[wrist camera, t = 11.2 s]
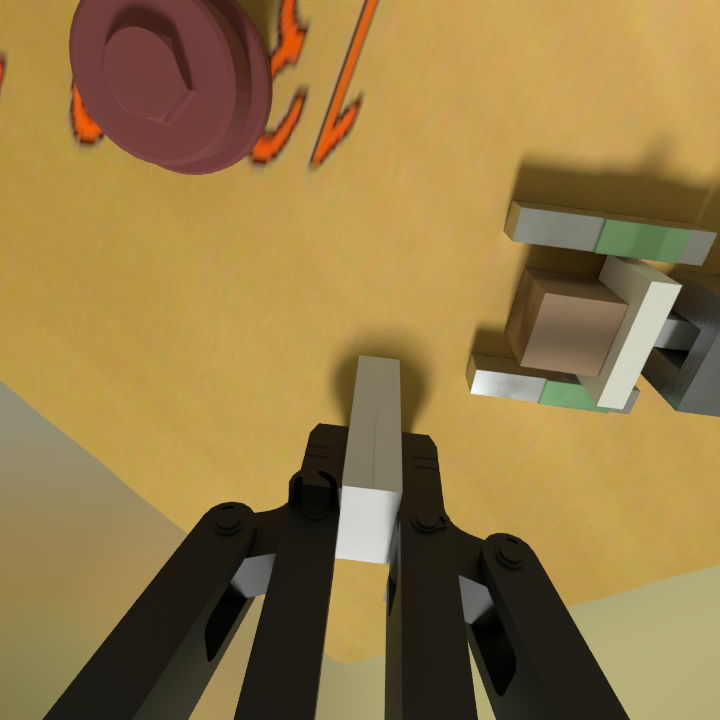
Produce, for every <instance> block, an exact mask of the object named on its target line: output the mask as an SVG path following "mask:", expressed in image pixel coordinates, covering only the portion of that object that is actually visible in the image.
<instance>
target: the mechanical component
mask: <svg viewBox="0 0 720 720" xmlns="http://www.w3.org/2000/svg"><path fill="white" fill-rule="evenodd" d="M69 51H70V63H71V68H72V73H73V77H74V80H75V84H76V87H77V90H78V92H79V95H80V97H81V99H82V101H83V103H84V105H85V107H86V109H87V110H88V112H89V114H90V115H91V117H92V119H93V120H94V121H95V123H96V124H97V125H98V126H99V128H100V129H101V130H102V131H103V132H104V133H105V134H106V135H107V136H108V137H109V138H110V139H111V140H112V141H113V142H114V143H115V144H116V145H118V146H119V147H120V148H121V149H123V150H124V151H126V152H128V153H129V154H131V155H133V156H134V157H137V158H139V159H141V160H144V161H146V162H150V163H154V164H156V165H158V166H160V167H162V168H164V169H167V170H170V171H173V172H177V173H182V174H188V175H201V174H209V173H213V172H216V171H220V170H222V169H225V168H228V167H230V166H232V165H234V164H235V163H237V162H239V161H240V160H242V159H243V158H244V157H245V156H246V155H248V154H249V153H250V151H251V150H252V149H253V148H254V147H255V146H256V144H257V143H258V141H259V139H260V138H261V136H262V134H263V132H264V130H265V127H266V125H267V122H268V118H269V115H270V111H271V104H272V75H271V67H270V63H269V59H268V54H267V51H266V49H265V46H264V43H263V40H262V38H261V36H260V34H259V32H258V30H257V28H256V26H255V24H254V23H253V21H252V20H251V18H250V17H249V15H248V14H247V12H246V11H245V10H244V9H243V7H242V6H241V5H240V4H239V3H238V2H237V0H80V2H79V4H78V6H77V9H76V11H75V13H74V16H73V20H72V25H71V29H70V40H69Z"/></svg>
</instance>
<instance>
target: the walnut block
mask: <svg viewBox="0 0 720 720" xmlns="http://www.w3.org/2000/svg"><path fill="white" fill-rule="evenodd" d="M628 307H629V304H627V303H626V302H625V301H624V300H623V299H621V298H620V297H619V296H618V295H617V294H615V293H614V292H613V291H612V290H611V289H609V288H608V287H607V286H606V285H605V284H603V283H602V282H601V281H600V280H599V279H597V278H593V277H586V276H579V275H572V274H565V273H558V272H552V271H545V270H538V269H531V268H524V271H523V274H522V277H521V280H520V284H519V287H518V290H517V293H516V297H515V300H514V303H513V306H512V309H511V313H510V316H509V319H508V322H507V325H506V329H505V332H504V334H505V336H506V338H507V340H508V342H509V344H510V346H511V348H512V350H513V352H514V354H515V356H516V358H517V360H518V362H519V364H520V366H524V367H531V368H538V369H545V370H552V371H559V372H566V373H573V374H580V375H586V376H593V377H598V374H599V372H600V370H601V368H602V365H603V363H604V361H605V359H606V356H607V354H608V352H609V350H610V347H611V345H612V343H613V341H614V338H615V336H616V334H617V332H618V329H619V327H620V325H621V323H622V320H623V318H624V316H625V314H626V312H627V309H628Z"/></svg>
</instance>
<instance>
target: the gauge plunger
mask: <svg viewBox="0 0 720 720" xmlns="http://www.w3.org/2000/svg"><path fill="white" fill-rule="evenodd" d="M598 279H599V280H600V281H601V282H602V283H603V284H605V285H606V286H607V287H608V288H609V289H611V290H612V291H613V292H614V293H615V294H617V295H618V296H619V297H620V298H621V299H623V300H624V301H625V302H626V303H627V304H629V307H628V309H627V312H626V314H625V316H624V318H623V320H622V323H621V325H620V327H619V329H618V332H617V334H616V336H615V338H614V341H613V343H612V345H611V347H610V350H609V352H608V354H607V356H606V359H605V361H604V363H603V365H602V368H601V370H600V372H599V374H598V377H593V376H586V375H580V374H575V375H576V376H577V378H578V379H579V381H580V382H581V384H582V385H583V387H584V388H585V390H586V391H587V393H588V394H589V395H590V397H591V398H592V400H593V401H594V403H595V404H596V406H601V407H608V408H616V409H623V408H624V406H625V404H626V402H627V399H628V397H629V395H630V393H631V391H632V389H633V387H634V385H635V383H636V381H637V379H638V377H639V374H640V372H641V370H642V368H643V366H644V364H645V362H646V360H647V358H648V356H649V354H650V352H651V349H652V347H653V346H654V347H661V348H669V349H676V350H684V351H690V350H691V349H692V347H693V345H694V343H695V341H696V339H697V337H698V335H699V333H700V331H701V329H699V328H698V327H697V326H695V325H694V324H692V323H691V322H690V321H688V320H687V319H685V318H684V317H683V316H681V315H680V314H678V313H677V312H676V311H674V310H671V308H672V306H673V304H674V302H675V299H676V297H677V295H678V293H679V291H680V289H681V287H682V285H681V284H679V283H678V282H676V281H674V280H673V279H671V278H669V277H668V276H666V275H664V274H663V273H661V272H659V271H658V270H656V269H655V268H653V267H651V266H650V265H648V264H646V263H645V262H643V261H641V260H640V259H638V258H630V257H623V256H615V255H607V257H606V260H605V263H604V265H603V268H602V270H601V273H600V276H599V278H598Z"/></svg>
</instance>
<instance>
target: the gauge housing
mask: <svg viewBox="0 0 720 720" xmlns="http://www.w3.org/2000/svg"><path fill="white" fill-rule="evenodd" d="M504 233H505V234H506V235H507V236H508V237H509V238H510V239H511V240H512V241H515V242H523V243H530V244H538V245H546V246H553V247H561V248H569V249H576V250H584V251H591V252H594V253H600V254H607V255H615V256H623V257H630V258H638V259H645V260H653V261H661V262H668V263H676V264H677V263H683V264H691V265H698V266H702V265H703V263H704V261H705V259H706V257H707V255H708V252H709V250H710V248H711V246H712V244H713V242H714V240H715V238H716V236H717V234H718V233H716V232H714V231H711V230H708V229H706V228H703V227H701V226H698V225H695V224H691V223H683V222H675V221H668V220H660V219H652V218H645V217H637V216H630V215H622V214H614V213H607V212H599V211H591V210H584V209H576V208H568V207H561V206H553V205H546V204H538V203H530V202H523V201H515V200H512V202H511V206H510V209H509V213H508V217H507V221H506V225H505V228H504ZM669 278H671V279H673V280H674V281H676V282H678V283H679V284H681V285H682V287H681V289H680V291H679V293H678V295H677V297H676V299H675V302H674V304H673V306H672V308H671V309H673V310H674V311H676V312H677V313H678V314H680V315H681V316H683V317H684V318H685V319H687V320H688V321H690V322H691V323H692V324H694V325H695V326H697V327H698V328H699V329H701V331H700V333H699V335H698V337H697V339H696V341H695V343H694V345H693V347H692V349H691V350H690V351H684V350H676V349H669V348H661V347H654V346H653V347H652V349H651V352H650V354H649V356H648V358H647V360H646V362H645V364H644V366H643V368H642V370H641V372H640V373H641V374H642V375H643V376H644V378H645V379H646V380H647V381H648V382H649V383H650V384H651V385H652V386H653V387H654V388H655V389H656V390H657V391H658V393H659V394H660V395H661V396H662V397H663V398H664V399H665V400H666V401H667V402H668V403H669V404H670V405H671V406H672V408H673V409H674V410H675V411H679V412H687V413H694V414H702V415H709V416H717V417H720V275H713V274H705V273H697V272H690V271H682V270H674V269H673V270H672V272H671V274H670V276H669ZM466 379H467V383H468V387H469V391H470V393H472V394H480V395H487V396H495V397H502V398H510V399H518V400H525V401H533V402H538V403H539V404H542V405H549V406H557V407H564V408H572V409H580V410H587V411H595V412H602V413H608V412H616V413H623V414H629V413H630V411H631V409H632V407H633V405H634V403H635V401H636V399H637V397H638V395H639V393H640V390H639V389H638V388H637V387H636V386H635V385H634V387H633V389H632V391H631V393H630V395H629V397H628V399H627V402H626V404H625V406H624V408H623V409H616V408H608V407H601V406H596V404H595V403H594V401H593V400H592V398H591V397H590V395H589V394H588V393H587V391H586V390H585V388H584V387H583V385H582V384H581V382H580V381H579V379H578V378H577V376H576V375H575V374H573V373H566V372H559V371H552V370H545V369H538V368H531V367H524V366H520V364H519V362H518V360H517V359H511V358H504V357H496V356H488V355H481V354H473V353H471V357H470V361H469V365H468V368H467V372H466Z"/></svg>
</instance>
